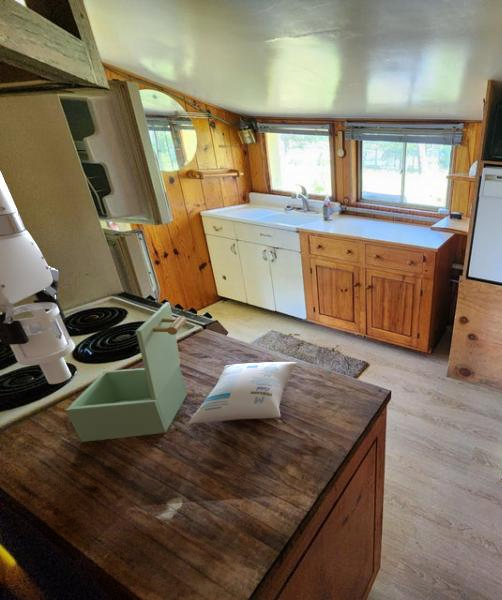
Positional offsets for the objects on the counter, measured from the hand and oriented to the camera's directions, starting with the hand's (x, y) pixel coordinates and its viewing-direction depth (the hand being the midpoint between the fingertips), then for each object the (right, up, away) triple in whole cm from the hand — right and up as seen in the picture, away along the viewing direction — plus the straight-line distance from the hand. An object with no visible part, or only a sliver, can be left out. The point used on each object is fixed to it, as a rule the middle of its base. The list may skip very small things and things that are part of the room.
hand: (36, 330), depth 55 cm
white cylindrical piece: (0, -9, +4) cm, 10 cm away
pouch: (+25, -20, +25) cm, 41 cm away
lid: (+11, -5, +14) cm, 18 cm away
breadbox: (+2, -22, +19) cm, 29 cm away
